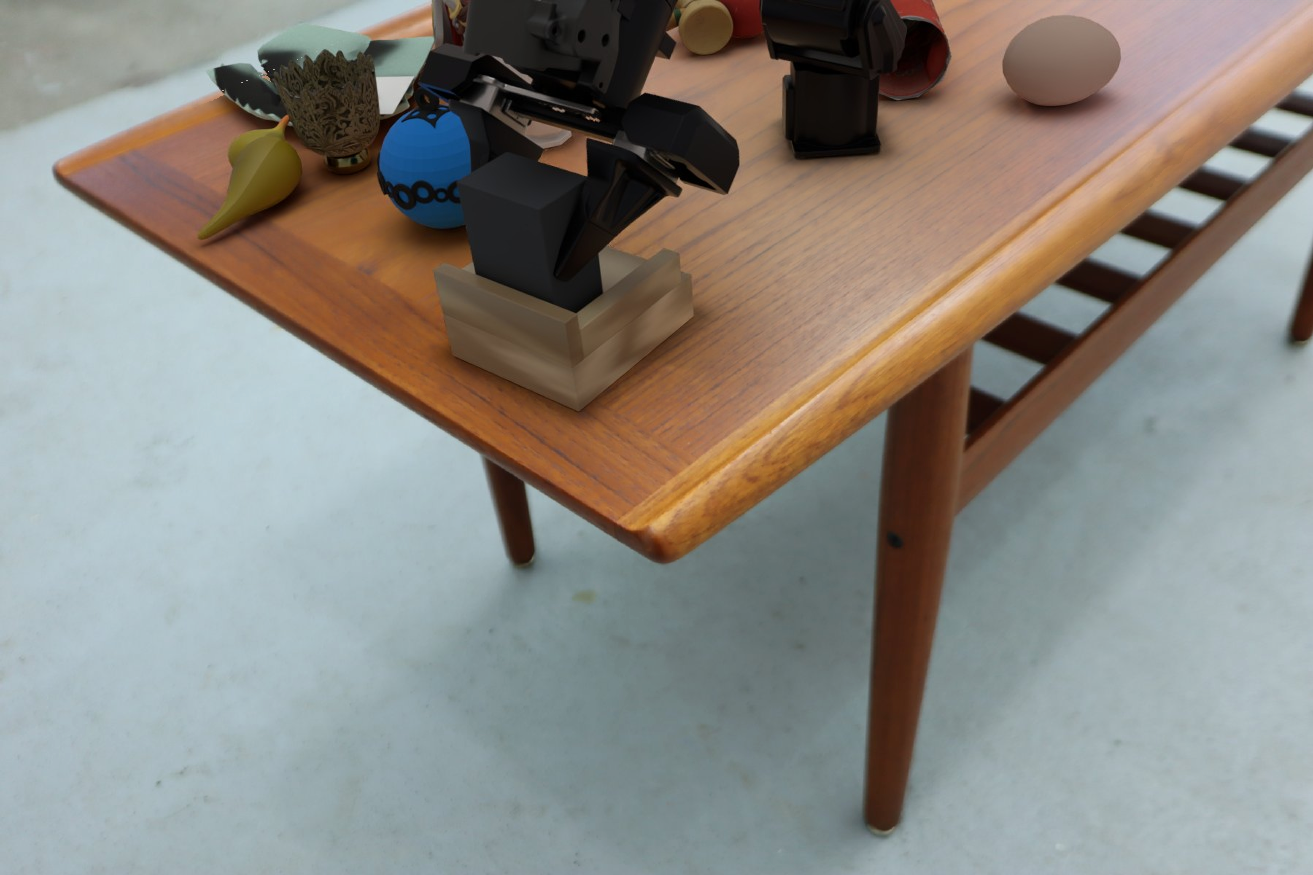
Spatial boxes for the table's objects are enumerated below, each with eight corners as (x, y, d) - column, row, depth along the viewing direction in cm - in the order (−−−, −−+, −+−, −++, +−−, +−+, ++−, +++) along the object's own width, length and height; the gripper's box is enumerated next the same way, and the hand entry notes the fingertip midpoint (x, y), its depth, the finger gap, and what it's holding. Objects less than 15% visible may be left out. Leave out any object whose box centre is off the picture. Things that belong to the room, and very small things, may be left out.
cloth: (422, 114, 88) (428, 141, 89) (440, 9, 104) (445, 34, 106) (168, 138, 88) (179, 165, 89) (226, 29, 104) (234, 53, 105)
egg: (1019, 116, 82) (1132, 109, 83) (1030, 22, 79) (1148, 16, 80) (982, 101, 88) (1089, 95, 89) (992, 13, 85) (1102, 8, 86)
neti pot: (319, 81, 83) (257, 96, 86) (219, 208, 74) (154, 219, 77) (351, 129, 86) (290, 141, 89) (258, 256, 77) (194, 265, 80)
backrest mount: (570, 271, 72) (559, 188, 68) (694, 316, 67) (689, 230, 63) (452, 355, 66) (432, 270, 62) (578, 412, 61) (565, 322, 57)
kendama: (598, 91, 97) (792, 35, 97) (579, 18, 94) (780, -40, 94) (589, 74, 104) (771, 21, 104) (571, 5, 100) (758, -49, 101)
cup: (415, 152, 87) (393, 53, 82) (360, 195, 82) (332, 92, 77) (340, 140, 90) (314, 44, 85) (282, 180, 85) (251, 81, 80)
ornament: (535, 204, 79) (513, 69, 73) (467, 262, 74) (437, 122, 67) (439, 185, 83) (410, 54, 76) (367, 239, 77) (330, 104, 70)
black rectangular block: (527, 274, 65) (506, 151, 60) (605, 303, 62) (590, 176, 57) (481, 306, 63) (455, 181, 58) (559, 338, 60) (539, 209, 55)
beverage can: (928, 43, 97) (936, -35, 93) (947, 99, 88) (956, 16, 84) (847, 46, 98) (850, -31, 93) (856, 103, 89) (861, 20, 84)
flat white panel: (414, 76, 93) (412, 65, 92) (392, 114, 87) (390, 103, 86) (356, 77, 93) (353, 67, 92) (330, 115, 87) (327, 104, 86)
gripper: (404, -112, 56) (296, 171, 57) (698, -67, 47) (563, 269, 48) (529, -5, 66) (434, 236, 67) (792, 49, 57) (679, 328, 58)
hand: (516, 263), depth 60 cm, fingers closed on black rectangular block, 6 cm apart
